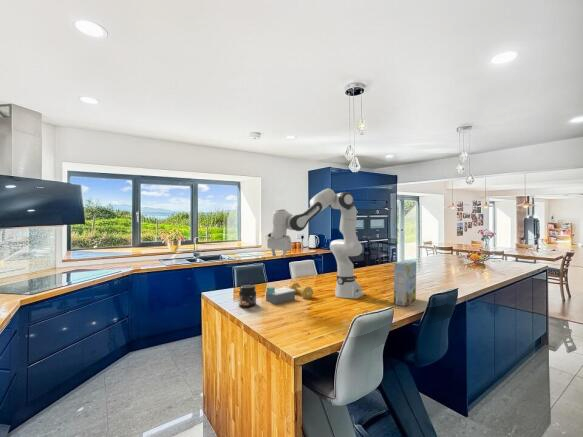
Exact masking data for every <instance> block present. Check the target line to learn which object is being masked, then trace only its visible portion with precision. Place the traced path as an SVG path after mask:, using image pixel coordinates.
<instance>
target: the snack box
mask: <svg viewBox="0 0 583 437" xmlns="http://www.w3.org/2000/svg"><path fill="white" fill-rule="evenodd" d="M393 280H394V282H393V283H394V284H393V286H394V287H393V305H397V306H401V307H408V306H409V305H410V304H411V303H412V302H414V301H416V299H417V297H416V296H417V261H415V260H407V259H406V260H401V261H399V262H397V263H394V277H393Z"/></svg>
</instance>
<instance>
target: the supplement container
mask: <svg viewBox="0 0 583 437" xmlns="http://www.w3.org/2000/svg"><path fill="white" fill-rule="evenodd" d="M238 295H239V296H238V299H239V300H238V306H239V307H240V308H242V307H243V308H242V309H251V308H252V307H255V306H257V291H256V285H254V284H243V285H240V286H239V292H238Z"/></svg>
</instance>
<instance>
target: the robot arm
mask: <svg viewBox="0 0 583 437" xmlns="http://www.w3.org/2000/svg"><path fill="white" fill-rule="evenodd" d="M328 207H329V208H330V209H332V210H340V221H339V232H340V233H341V234H342V236H343V239H334V240H331V241H330V244H329V250H330V252H331V253H332V254H333V256H334V258H335V261H336V265H337V266H336V268H337V269H336V270H337V272H336V273H337V275H336V283H335V291H334V296H335V297H338V298H341V299H342V298H343V299H358V298H360V297H363V296H364V295H366V293H365V292H364V291H362V285H361V284H360V283H358V282H357V281H356V279H358V275H355V274H354V270H355V269H354V268H355V267H354V263H353V262H352V261H351V260H350V258H349V257H358V256H360V255H361V254H362V251H363V246H362V243H361V242H360V240H359V239H358V237H357V232H356V230H357V229H356V228H357V220H358V219H357V218H358V217H357V216H358V214H357V212H358V211H357V207H356V206H355V202H354V196H353V195H352V193H350V192H347V191H344V192H339V193H335V191H334V190H333V189H331V188H325V189H322V190H321V191H320V192H318V193H317V194H315V195H314V196H313V197H311V199H310V200H309V207H308V208H307V209H306V210H305V211H303V213H300V214H292V213H290V212H289V211H287V210H286V209H278V210H274V212H273V216H272V218H273V219H272V231H271V232H269V233H267V245H266V246H267V248H268V249H271V250H270V251H271V254H272V257H276V256H277V253H276V250H277V251H278V250H279V251H282V254H281V258H282V259H283V258H284V259H285V258H286V255H287V253H288V251H289V252H290V251H291V250H292V240H291V239H292V238H291V237H290V235H287V230H290V231H296V232H301V231H303V230H304V229H305V228H307V226H308V223H310V221H311V220H312V219H314V217H316V216H317V215H319V213H321V212H322V211H324V210H325V209H326V208H328Z"/></svg>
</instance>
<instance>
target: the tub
mask: <svg viewBox="0 0 583 437" xmlns="http://www.w3.org/2000/svg"><path fill="white" fill-rule="evenodd" d="M295 299H296V294H295V291H294V292H289V293H285V294H280V295H273V294H271V295H269V294H267V293H266V292H265V301H266V302H268V303H272V304H275V305H277V304H282V303H286V302H290V301H294V300H295Z"/></svg>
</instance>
